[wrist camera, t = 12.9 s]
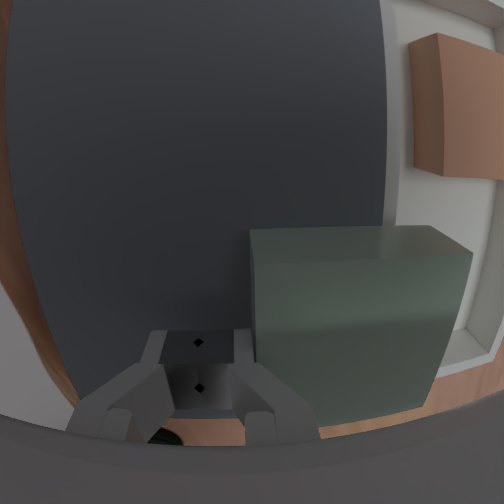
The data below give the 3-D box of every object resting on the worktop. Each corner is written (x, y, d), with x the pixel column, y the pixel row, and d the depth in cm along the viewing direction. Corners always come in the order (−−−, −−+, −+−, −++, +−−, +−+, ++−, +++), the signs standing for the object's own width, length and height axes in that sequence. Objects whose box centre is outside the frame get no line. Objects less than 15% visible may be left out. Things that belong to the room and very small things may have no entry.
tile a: (526, 64, 9) (495, 67, 11) (436, 32, 9) (407, 43, 11) (527, 182, 11) (497, 172, 13) (443, 176, 11) (413, 167, 13)
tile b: (249, 229, 9) (254, 264, 7) (429, 224, 10) (473, 253, 7) (253, 382, 12) (257, 433, 9) (398, 364, 12) (422, 406, 10)
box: (338, -25, 10) (364, -58, 7) (494, 23, 10) (533, 15, 7) (331, 353, 18) (348, 396, 14) (466, 330, 18) (492, 360, 15)
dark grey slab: (72, 14, 10) (16, -17, 5) (329, -10, 10) (369, -59, 6) (113, 347, 17) (85, 410, 12) (325, 340, 17) (350, 406, 13)
